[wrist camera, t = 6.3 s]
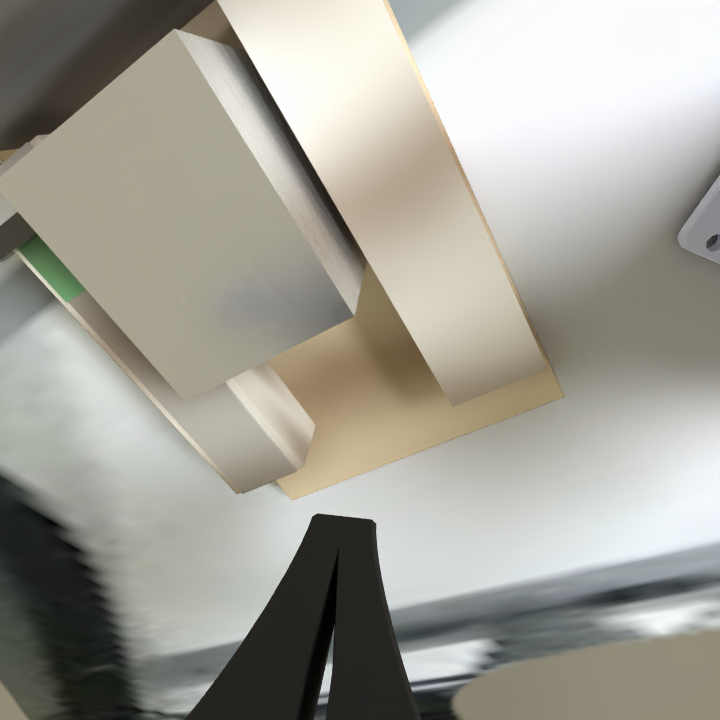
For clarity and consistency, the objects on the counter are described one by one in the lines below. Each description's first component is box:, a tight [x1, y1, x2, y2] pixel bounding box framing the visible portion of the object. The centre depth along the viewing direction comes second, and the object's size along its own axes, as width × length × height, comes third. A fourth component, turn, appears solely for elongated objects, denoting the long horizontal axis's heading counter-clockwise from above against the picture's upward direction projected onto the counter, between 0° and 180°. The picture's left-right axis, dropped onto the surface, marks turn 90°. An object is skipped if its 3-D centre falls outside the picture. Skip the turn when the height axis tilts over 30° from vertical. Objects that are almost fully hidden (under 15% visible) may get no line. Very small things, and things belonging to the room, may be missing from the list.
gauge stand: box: [0, 0, 564, 500], centre depth 12 cm, size 20×12×7 cm, turn 30°
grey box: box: [0, 29, 367, 402], centre depth 12 cm, size 6×8×5 cm
